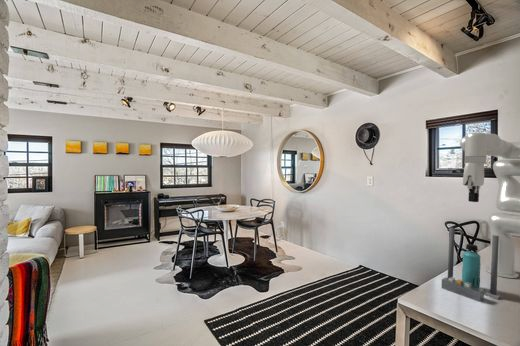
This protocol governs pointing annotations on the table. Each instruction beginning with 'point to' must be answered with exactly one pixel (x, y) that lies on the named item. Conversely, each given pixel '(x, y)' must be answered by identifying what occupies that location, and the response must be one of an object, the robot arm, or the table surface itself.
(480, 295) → the pdu strip
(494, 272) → the cord post
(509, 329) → the table surface
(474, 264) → the beverage bottle
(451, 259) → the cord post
